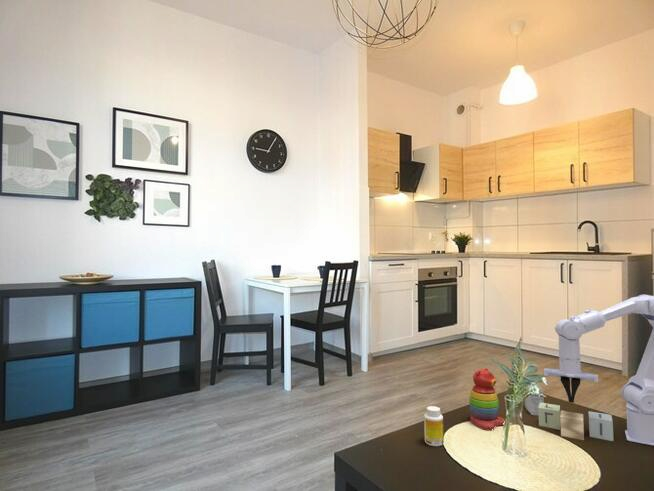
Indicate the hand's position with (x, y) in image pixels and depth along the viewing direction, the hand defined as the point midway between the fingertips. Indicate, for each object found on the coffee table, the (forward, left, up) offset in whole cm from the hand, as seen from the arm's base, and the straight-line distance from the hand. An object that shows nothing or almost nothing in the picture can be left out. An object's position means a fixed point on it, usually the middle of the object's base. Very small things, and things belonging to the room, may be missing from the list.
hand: (571, 401), depth 124 cm
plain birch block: (0, 0, -10) cm, 10 cm away
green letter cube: (+7, -5, -10) cm, 13 cm away
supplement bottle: (+35, +29, -10) cm, 47 cm away
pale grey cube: (-7, -4, -10) cm, 13 cm away
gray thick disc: (+12, -15, -10) cm, 22 cm away
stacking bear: (+25, +5, -10) cm, 28 cm away
